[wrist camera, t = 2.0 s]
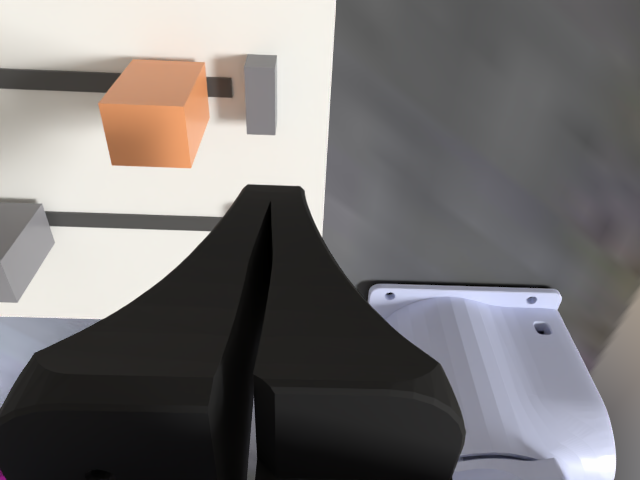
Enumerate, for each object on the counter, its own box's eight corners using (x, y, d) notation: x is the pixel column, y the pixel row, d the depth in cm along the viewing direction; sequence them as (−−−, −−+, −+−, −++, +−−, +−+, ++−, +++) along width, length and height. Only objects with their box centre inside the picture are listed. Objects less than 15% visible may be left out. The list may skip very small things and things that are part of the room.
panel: (340, -113, 16) (344, -105, 14) (316, 307, 27) (316, 343, 25) (-304, -147, 16) (-390, -144, 14) (-63, 297, 27) (-92, 332, 25)
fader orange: (204, 62, 18) (183, 106, 15) (209, 117, 19) (191, 168, 16) (132, 59, 18) (98, 103, 15) (142, 114, 19) (112, 165, 16)
